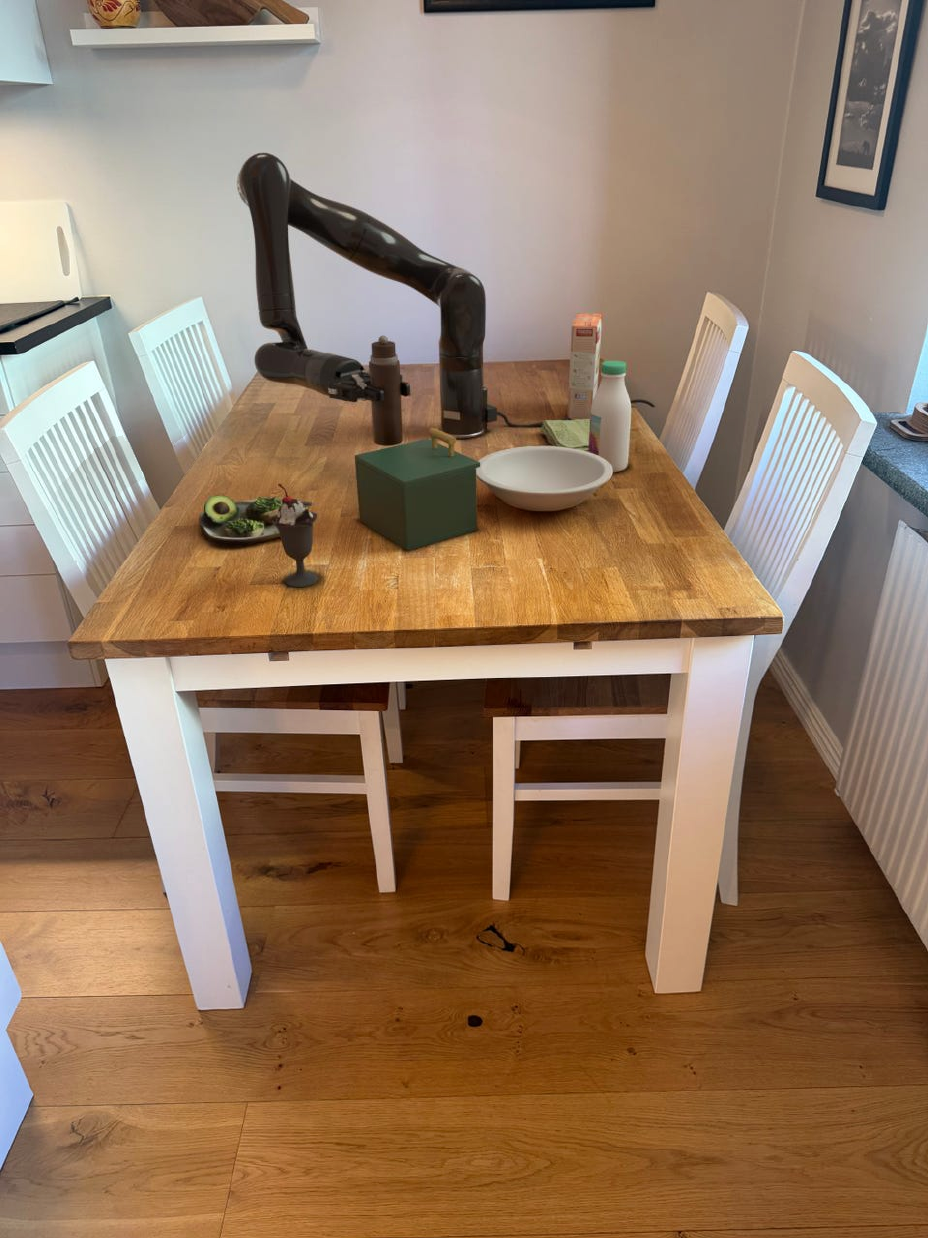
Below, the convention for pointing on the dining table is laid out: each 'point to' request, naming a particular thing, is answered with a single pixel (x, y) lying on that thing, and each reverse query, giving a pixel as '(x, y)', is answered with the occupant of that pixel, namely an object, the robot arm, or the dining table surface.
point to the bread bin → (417, 507)
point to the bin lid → (418, 460)
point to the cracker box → (584, 364)
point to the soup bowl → (543, 476)
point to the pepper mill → (386, 393)
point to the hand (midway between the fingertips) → (395, 393)
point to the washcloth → (567, 433)
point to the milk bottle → (611, 417)
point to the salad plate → (240, 520)
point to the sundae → (296, 537)
